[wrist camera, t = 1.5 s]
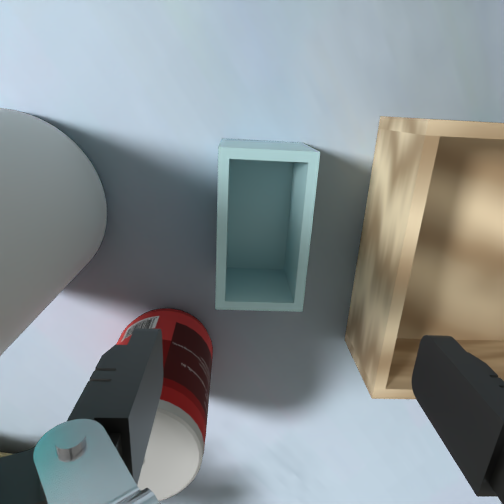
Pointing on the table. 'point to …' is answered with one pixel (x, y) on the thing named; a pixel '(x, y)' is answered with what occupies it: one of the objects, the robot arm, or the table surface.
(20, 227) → the cylinder vase
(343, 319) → the table surface
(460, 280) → the large crate
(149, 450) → the canned food
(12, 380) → the table surface
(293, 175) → the small crate
